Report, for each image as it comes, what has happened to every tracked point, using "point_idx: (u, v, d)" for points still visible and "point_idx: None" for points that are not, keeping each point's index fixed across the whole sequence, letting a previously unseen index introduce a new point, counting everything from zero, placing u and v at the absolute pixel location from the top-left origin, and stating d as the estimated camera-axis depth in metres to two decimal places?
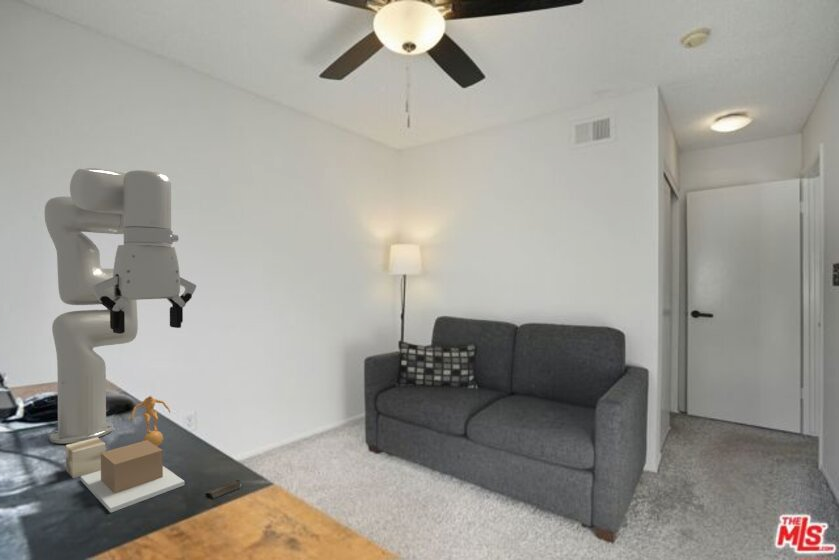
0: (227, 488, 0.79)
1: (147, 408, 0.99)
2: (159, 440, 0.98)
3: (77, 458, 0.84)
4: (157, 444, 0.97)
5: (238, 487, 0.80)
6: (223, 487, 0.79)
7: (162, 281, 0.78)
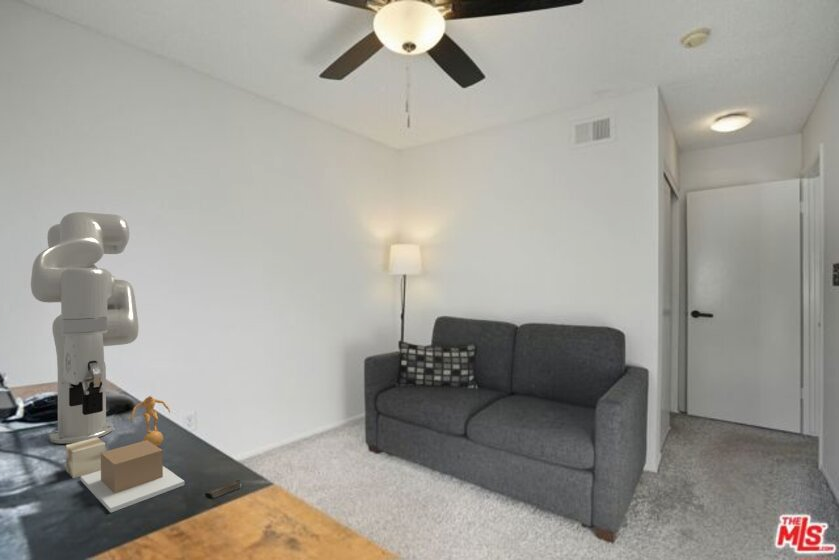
0: (227, 488, 0.79)
1: (147, 408, 0.99)
2: (159, 440, 0.98)
3: (77, 458, 0.84)
4: (157, 444, 0.97)
5: (238, 487, 0.80)
6: (223, 487, 0.79)
7: None
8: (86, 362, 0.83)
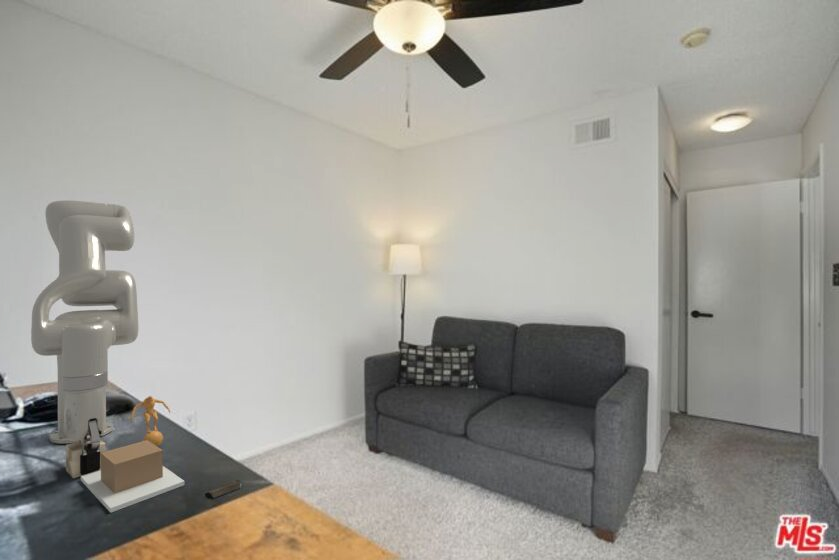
0: (227, 488, 0.79)
1: (147, 408, 0.99)
2: (159, 440, 0.98)
3: (77, 457, 0.84)
4: (157, 444, 0.97)
5: (238, 487, 0.80)
6: (223, 487, 0.79)
7: None
8: (86, 420, 0.83)
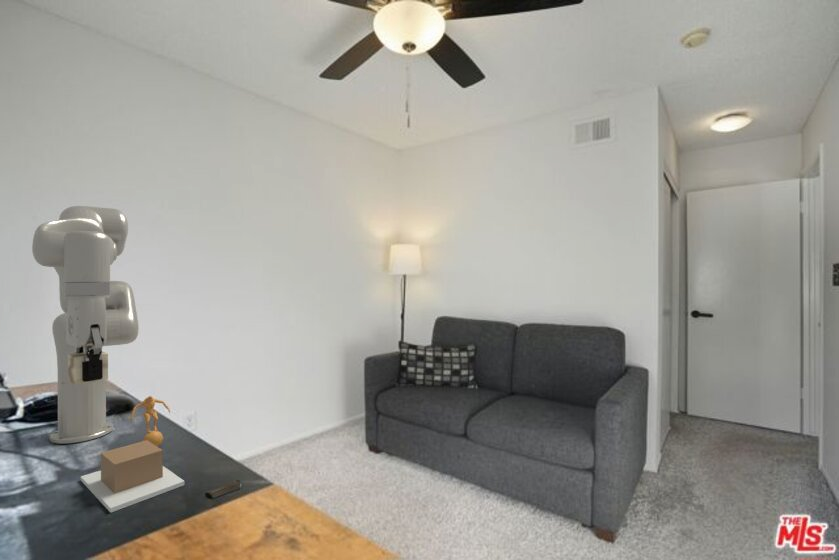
0: (227, 488, 0.79)
1: (147, 408, 0.99)
2: (159, 440, 0.98)
3: (79, 364, 0.83)
4: (157, 444, 0.97)
5: (238, 487, 0.80)
6: (223, 487, 0.79)
7: None
8: (89, 325, 0.82)
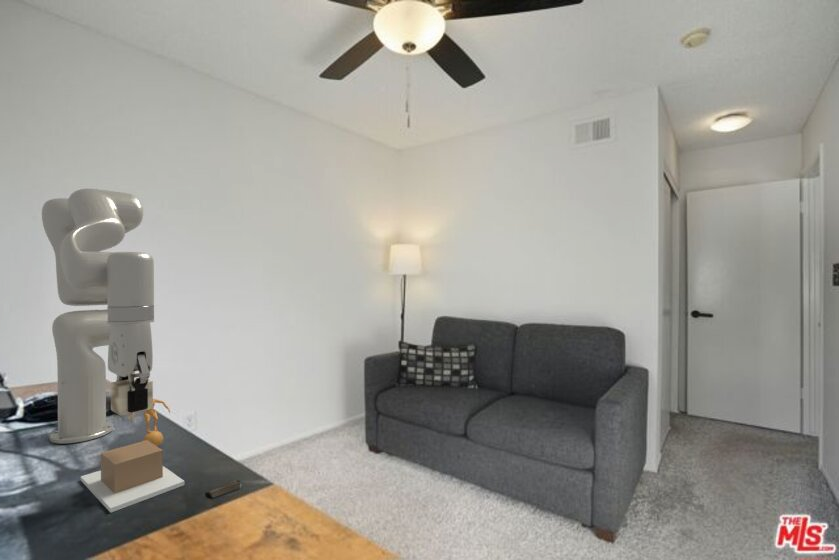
0: (227, 488, 0.79)
1: None
2: (159, 440, 0.98)
3: (124, 394, 0.78)
4: (157, 444, 0.97)
5: (238, 487, 0.80)
6: (223, 487, 0.79)
7: None
8: (135, 353, 0.77)
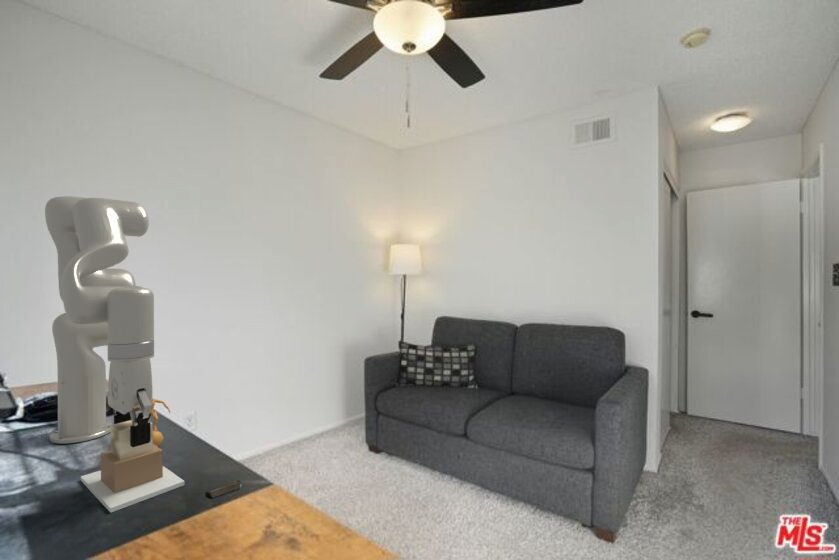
0: (227, 488, 0.79)
1: None
2: (159, 440, 0.98)
3: (125, 438, 0.78)
4: (157, 444, 0.97)
5: (238, 487, 0.80)
6: (223, 487, 0.79)
7: None
8: (135, 390, 0.78)
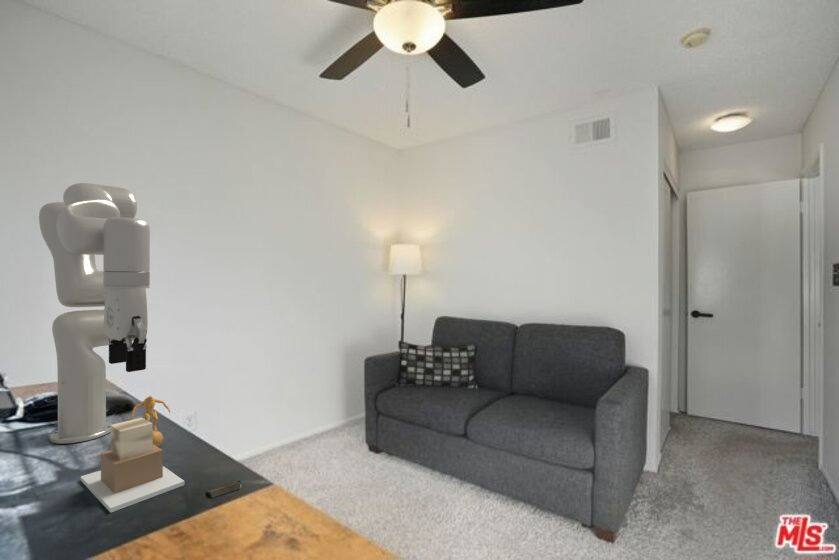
0: (227, 488, 0.79)
1: (147, 408, 0.99)
2: (159, 440, 0.98)
3: (125, 438, 0.78)
4: (157, 444, 0.97)
5: (238, 488, 0.80)
6: (223, 487, 0.79)
7: None
8: (130, 317, 0.79)
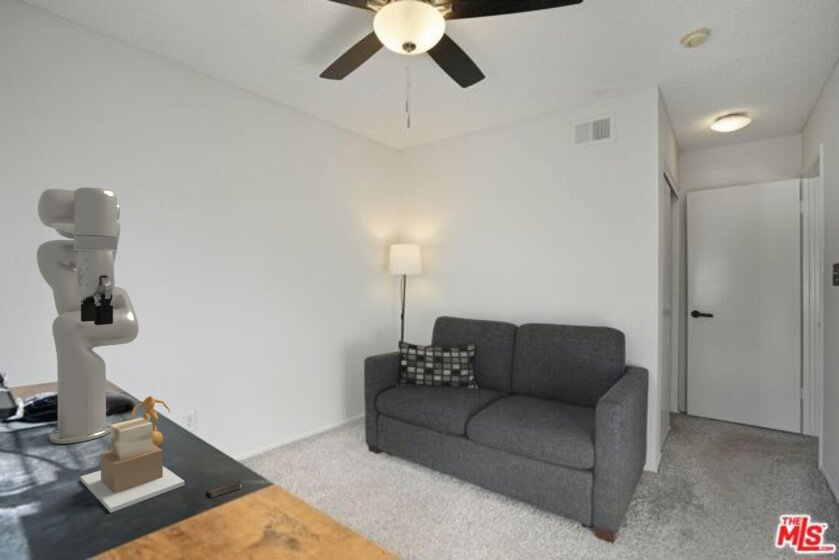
0: (227, 488, 0.79)
1: (147, 408, 0.99)
2: (159, 440, 0.98)
3: (125, 438, 0.78)
4: (157, 444, 0.97)
5: (238, 488, 0.80)
6: (223, 487, 0.79)
7: None
8: (98, 276, 0.88)
